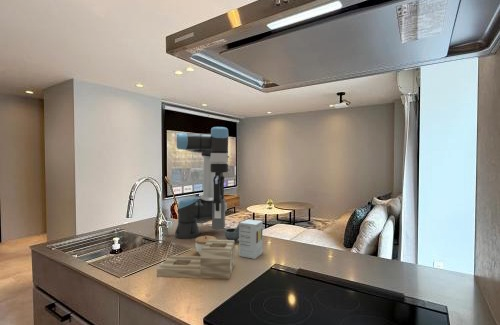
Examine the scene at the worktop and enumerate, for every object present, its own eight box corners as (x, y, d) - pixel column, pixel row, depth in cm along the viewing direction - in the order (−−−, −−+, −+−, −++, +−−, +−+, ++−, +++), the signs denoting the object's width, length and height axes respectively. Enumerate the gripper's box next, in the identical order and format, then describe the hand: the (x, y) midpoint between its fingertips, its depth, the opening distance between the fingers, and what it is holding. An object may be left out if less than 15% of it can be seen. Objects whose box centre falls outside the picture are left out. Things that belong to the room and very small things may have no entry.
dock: (170, 261, 120) (170, 238, 120) (234, 264, 118) (234, 240, 118) (157, 276, 105) (157, 249, 105) (229, 278, 103) (229, 251, 103)
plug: (213, 226, 113) (214, 194, 113) (226, 226, 113) (227, 194, 113) (212, 228, 110) (212, 195, 109) (225, 229, 109) (225, 196, 109)
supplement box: (255, 259, 124) (255, 224, 124) (238, 256, 128) (238, 222, 128) (262, 253, 133) (263, 220, 133) (246, 250, 137) (246, 218, 137)
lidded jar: (191, 257, 126) (191, 238, 126) (199, 249, 137) (199, 232, 137) (212, 258, 125) (212, 239, 124) (218, 251, 135) (219, 233, 135)
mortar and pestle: (222, 244, 147) (222, 223, 147) (227, 239, 156) (227, 219, 156) (241, 245, 144) (241, 224, 144) (245, 240, 153) (245, 220, 153)
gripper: (224, 163, 102) (224, 222, 103) (230, 162, 119) (230, 213, 120) (206, 163, 103) (205, 221, 103) (214, 162, 120) (214, 212, 120)
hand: (218, 216), depth 111 cm, fingers closed on plug, 4 cm apart
